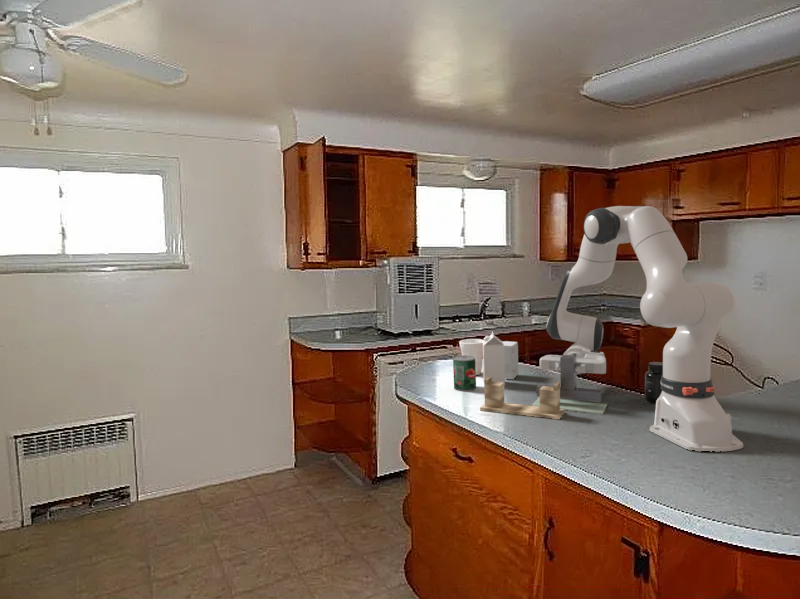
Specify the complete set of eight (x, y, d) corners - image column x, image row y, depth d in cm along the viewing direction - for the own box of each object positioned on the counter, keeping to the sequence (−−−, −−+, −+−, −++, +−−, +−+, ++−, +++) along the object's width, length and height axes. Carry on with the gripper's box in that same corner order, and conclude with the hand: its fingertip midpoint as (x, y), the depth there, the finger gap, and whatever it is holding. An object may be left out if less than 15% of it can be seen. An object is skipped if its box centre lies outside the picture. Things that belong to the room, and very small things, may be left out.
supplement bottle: (640, 399, 172) (640, 362, 171) (658, 397, 174) (658, 360, 173) (655, 405, 166) (655, 367, 165) (674, 403, 168) (674, 364, 166)
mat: (607, 405, 168) (607, 404, 168) (602, 414, 160) (602, 412, 160) (538, 398, 178) (538, 397, 178) (531, 406, 170) (531, 405, 170)
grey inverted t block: (602, 399, 166) (602, 357, 165) (600, 402, 163) (600, 360, 161) (539, 393, 175) (538, 353, 174) (536, 396, 172) (535, 356, 170)
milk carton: (503, 381, 201) (501, 330, 199) (505, 386, 194) (503, 333, 192) (483, 381, 201) (482, 331, 199) (484, 387, 194) (483, 334, 192)
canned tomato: (476, 391, 190) (475, 360, 189) (453, 391, 191) (452, 360, 190) (476, 385, 198) (475, 355, 196) (454, 385, 199) (453, 355, 198)
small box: (502, 374, 212) (501, 340, 210) (518, 375, 209) (518, 341, 207) (496, 379, 205) (495, 344, 203) (512, 380, 202) (512, 345, 200)
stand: (564, 412, 163) (564, 381, 162) (559, 419, 157) (559, 387, 156) (487, 404, 175) (486, 375, 174) (480, 410, 168) (479, 380, 167)
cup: (490, 375, 211) (490, 341, 209) (467, 378, 207) (466, 344, 205) (477, 369, 220) (476, 337, 218) (455, 373, 216) (454, 340, 215)
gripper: (544, 348, 184) (533, 357, 172) (609, 352, 174) (602, 362, 162) (544, 367, 184) (534, 377, 172) (609, 371, 175) (602, 383, 163)
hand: (567, 370), depth 167 cm, fingers closed on grey inverted t block, 4 cm apart
